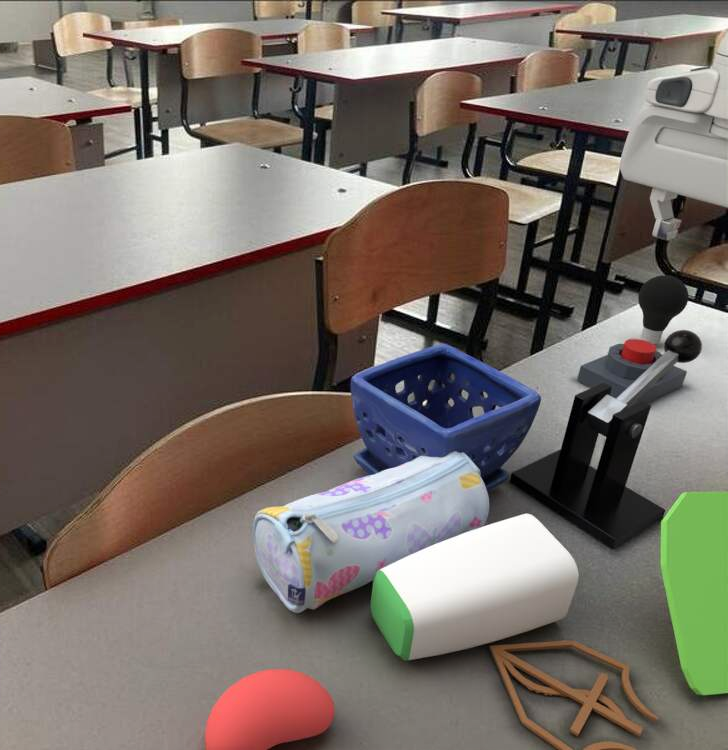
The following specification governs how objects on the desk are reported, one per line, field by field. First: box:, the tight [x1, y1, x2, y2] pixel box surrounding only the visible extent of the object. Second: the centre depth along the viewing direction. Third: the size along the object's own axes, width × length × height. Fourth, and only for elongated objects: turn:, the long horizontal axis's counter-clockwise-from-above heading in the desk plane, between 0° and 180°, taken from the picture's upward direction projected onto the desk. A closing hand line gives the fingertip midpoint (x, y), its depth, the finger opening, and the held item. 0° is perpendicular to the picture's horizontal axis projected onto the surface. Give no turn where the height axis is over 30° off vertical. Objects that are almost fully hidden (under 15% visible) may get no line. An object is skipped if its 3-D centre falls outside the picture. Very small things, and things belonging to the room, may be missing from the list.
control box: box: [576, 343, 688, 406], centre depth 99 cm, size 10×8×4 cm
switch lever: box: [588, 329, 703, 438], centre depth 76 cm, size 14×3×3 cm, turn 122°
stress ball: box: [204, 668, 336, 750], centre depth 55 cm, size 5×9×6 cm
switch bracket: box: [509, 383, 666, 550], centre depth 77 cm, size 8×12×12 cm, turn 33°
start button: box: [621, 338, 658, 364], centre depth 98 cm, size 4×4×2 cm
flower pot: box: [350, 343, 542, 493], centre depth 79 cm, size 13×13×12 cm
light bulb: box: [637, 274, 689, 345], centre depth 107 cm, size 6×6×10 cm
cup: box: [370, 513, 580, 662], centre depth 64 cm, size 7×7×15 cm
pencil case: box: [252, 451, 490, 614], centre depth 69 cm, size 21×9×10 cm, turn 118°
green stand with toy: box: [659, 490, 728, 696], centre depth 65 cm, size 15×15×6 cm
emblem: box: [489, 639, 659, 750], centre depth 60 cm, size 12×10×1 cm
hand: (712, 253), depth 72 cm, fingers open, 8 cm apart
